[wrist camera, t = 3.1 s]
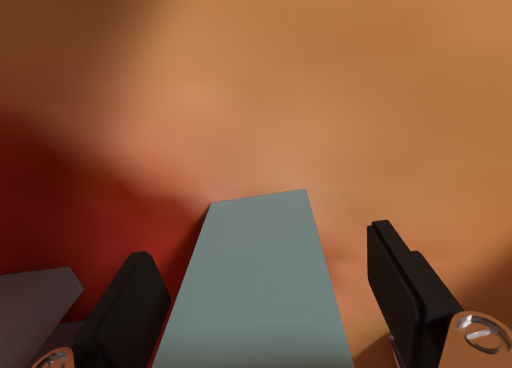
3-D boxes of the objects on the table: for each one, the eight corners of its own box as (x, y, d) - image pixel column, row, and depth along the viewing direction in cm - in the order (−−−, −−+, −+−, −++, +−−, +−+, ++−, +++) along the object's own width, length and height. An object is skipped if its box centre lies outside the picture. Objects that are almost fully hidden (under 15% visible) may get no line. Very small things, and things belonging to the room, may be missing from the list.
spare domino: (211, 202, 14) (117, 461, 5) (305, 188, 14) (377, 452, 5) (220, 232, 15) (153, 497, 6) (309, 221, 15) (376, 494, 6)
